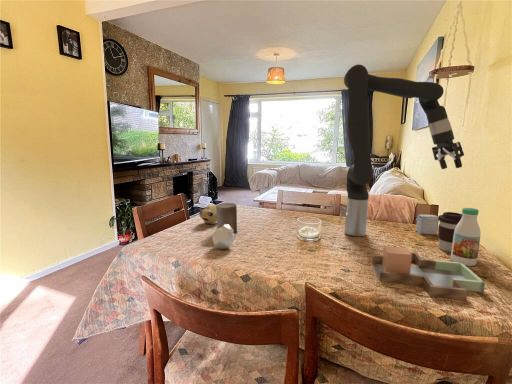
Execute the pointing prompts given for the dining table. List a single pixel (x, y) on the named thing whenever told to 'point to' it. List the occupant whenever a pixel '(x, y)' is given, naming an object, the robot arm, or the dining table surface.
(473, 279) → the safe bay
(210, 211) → the toy pig
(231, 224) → the pillar candle
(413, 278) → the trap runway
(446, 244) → the coffee cup
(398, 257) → the terracotta block
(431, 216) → the medicine box
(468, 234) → the milk bottle
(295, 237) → the dining table surface
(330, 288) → the dining table surface
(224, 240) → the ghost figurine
